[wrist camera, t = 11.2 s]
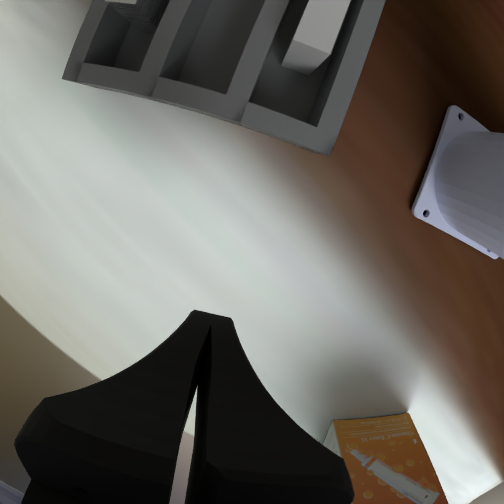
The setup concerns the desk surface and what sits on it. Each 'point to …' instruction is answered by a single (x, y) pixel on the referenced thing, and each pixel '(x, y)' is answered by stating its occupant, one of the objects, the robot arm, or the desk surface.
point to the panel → (141, 12)
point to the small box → (385, 460)
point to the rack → (237, 61)
